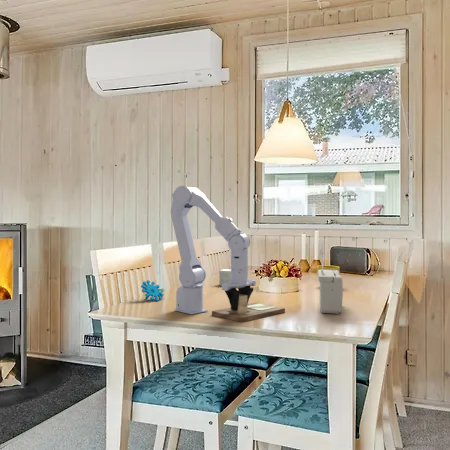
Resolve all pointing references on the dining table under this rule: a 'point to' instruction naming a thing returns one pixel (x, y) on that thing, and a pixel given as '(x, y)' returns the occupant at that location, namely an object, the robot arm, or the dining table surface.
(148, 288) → the gear
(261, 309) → the pocket board
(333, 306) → the stereo radio cassette player
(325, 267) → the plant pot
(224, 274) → the product box
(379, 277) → the dining table surface
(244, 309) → the maple block
